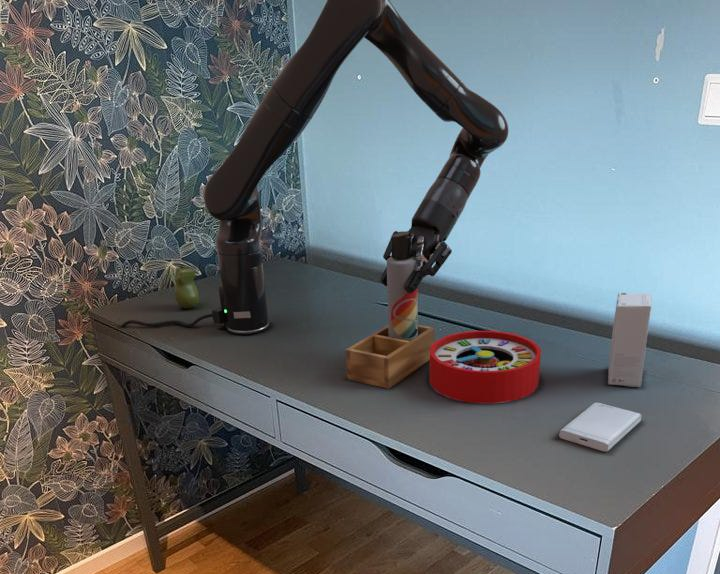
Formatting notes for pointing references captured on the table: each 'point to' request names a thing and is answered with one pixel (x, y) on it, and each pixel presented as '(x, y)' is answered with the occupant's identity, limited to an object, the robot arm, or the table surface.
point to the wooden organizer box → (388, 357)
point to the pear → (186, 288)
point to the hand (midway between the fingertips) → (395, 287)
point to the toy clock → (484, 366)
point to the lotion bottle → (401, 289)
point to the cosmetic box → (629, 339)
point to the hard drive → (600, 426)
